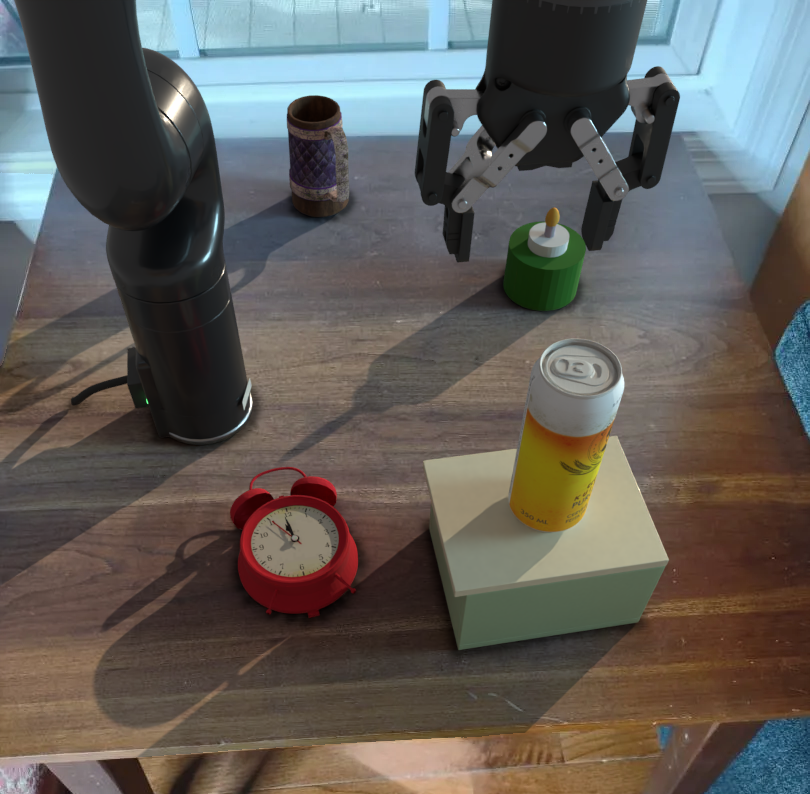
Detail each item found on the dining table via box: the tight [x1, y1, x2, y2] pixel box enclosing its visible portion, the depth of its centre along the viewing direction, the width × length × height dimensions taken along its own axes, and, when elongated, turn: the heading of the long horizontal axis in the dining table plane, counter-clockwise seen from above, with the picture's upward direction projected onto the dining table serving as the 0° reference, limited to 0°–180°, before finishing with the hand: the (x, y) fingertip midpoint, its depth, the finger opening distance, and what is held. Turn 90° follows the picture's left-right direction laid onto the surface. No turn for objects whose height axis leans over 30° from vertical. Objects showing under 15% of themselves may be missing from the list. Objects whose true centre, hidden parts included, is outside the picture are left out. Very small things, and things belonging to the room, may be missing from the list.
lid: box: [422, 435, 670, 597], centre depth 68 cm, size 16×13×1 cm
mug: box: [286, 94, 350, 218], centre depth 100 cm, size 10×7×12 cm
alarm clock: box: [229, 466, 359, 619], centre depth 75 cm, size 10×6×15 cm
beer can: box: [508, 337, 625, 532], centre depth 61 cm, size 6×6×15 cm
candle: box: [502, 207, 587, 312], centre depth 93 cm, size 8×8×10 cm
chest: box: [428, 502, 666, 651], centre depth 72 cm, size 16×13×9 cm
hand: (525, 248), depth 55 cm, fingers open, 8 cm apart
